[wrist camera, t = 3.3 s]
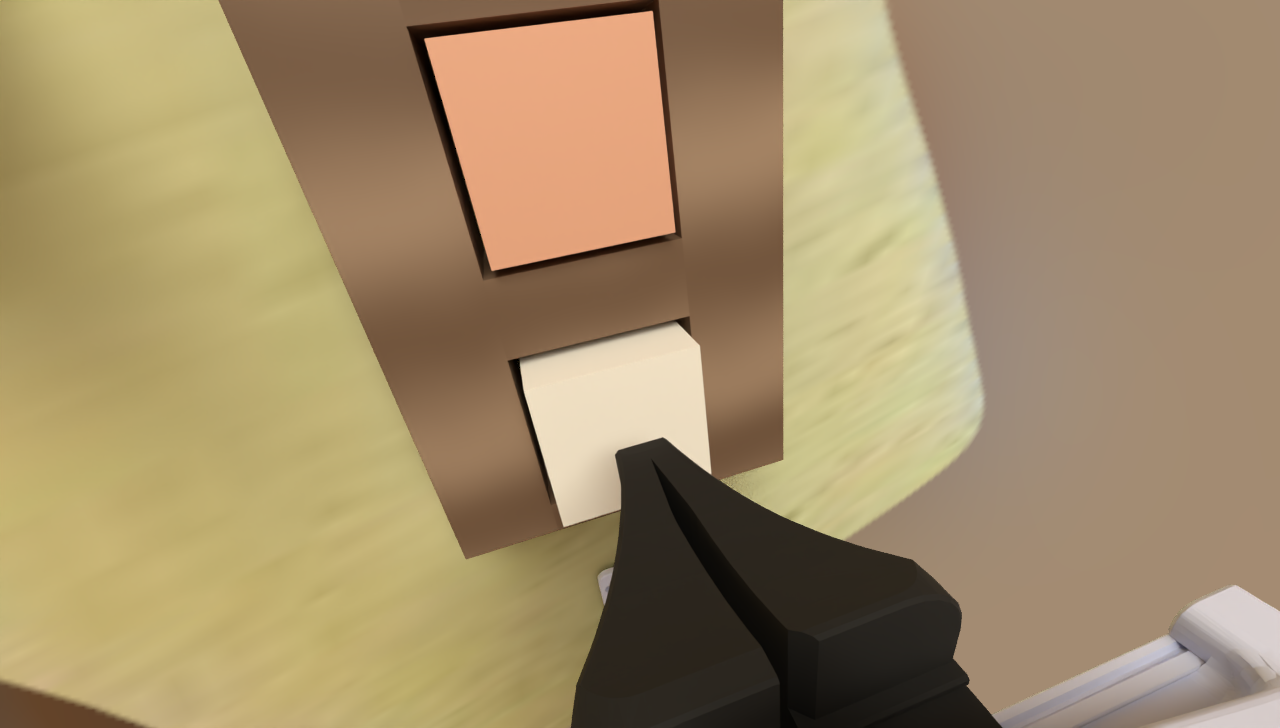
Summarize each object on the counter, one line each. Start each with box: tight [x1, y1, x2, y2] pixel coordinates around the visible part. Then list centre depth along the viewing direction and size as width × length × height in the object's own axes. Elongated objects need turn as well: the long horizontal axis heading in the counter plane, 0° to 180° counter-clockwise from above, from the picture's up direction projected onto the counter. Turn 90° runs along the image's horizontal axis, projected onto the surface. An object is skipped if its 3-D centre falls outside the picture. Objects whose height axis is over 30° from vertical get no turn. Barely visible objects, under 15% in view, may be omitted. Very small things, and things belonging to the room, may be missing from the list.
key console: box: [219, 0, 783, 559], centre depth 16 cm, size 16×12×4 cm
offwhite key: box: [519, 320, 711, 527], centre depth 16 cm, size 5×5×2 cm
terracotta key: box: [424, 11, 675, 271], centre depth 13 cm, size 5×5×2 cm
